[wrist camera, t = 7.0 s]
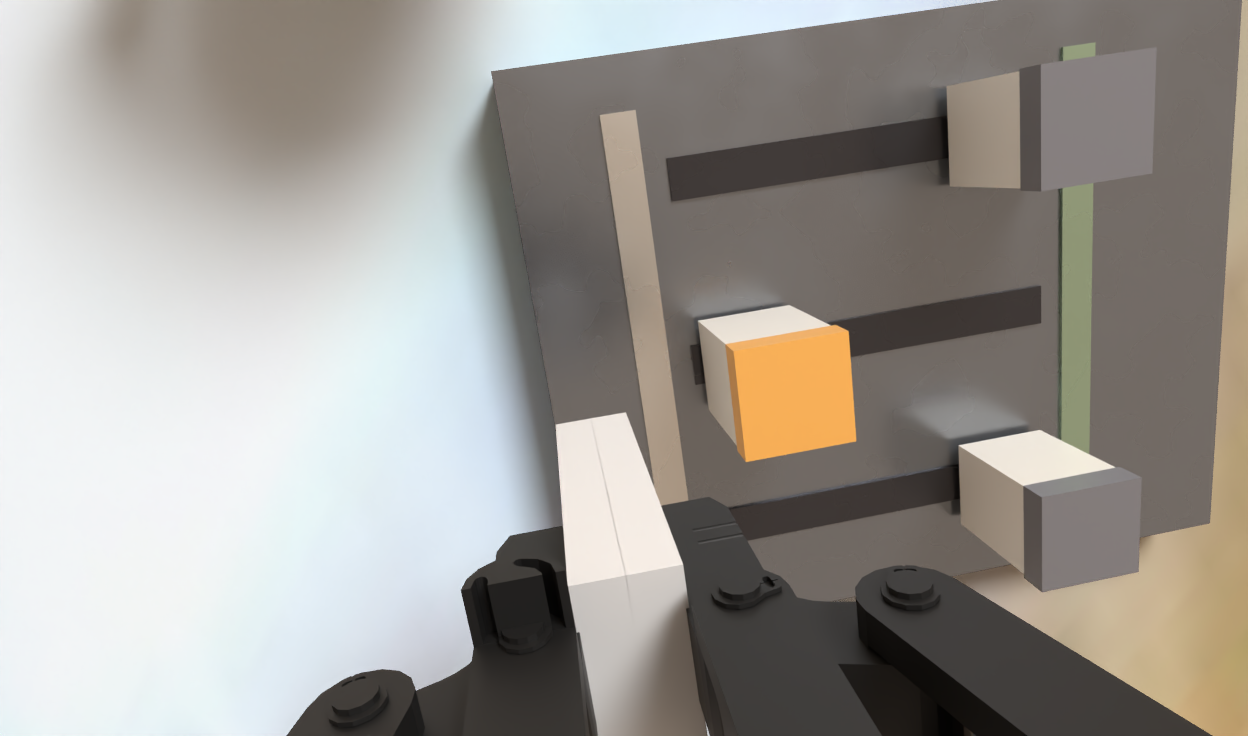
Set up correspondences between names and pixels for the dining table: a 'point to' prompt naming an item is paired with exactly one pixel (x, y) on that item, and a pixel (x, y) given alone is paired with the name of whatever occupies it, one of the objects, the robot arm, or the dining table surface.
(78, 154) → the dining table surface
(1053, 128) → the block
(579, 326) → the panel
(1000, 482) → the block
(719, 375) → the tripped breaker
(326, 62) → the dining table surface
